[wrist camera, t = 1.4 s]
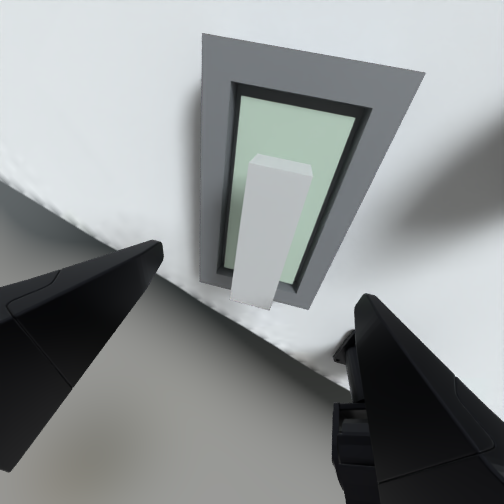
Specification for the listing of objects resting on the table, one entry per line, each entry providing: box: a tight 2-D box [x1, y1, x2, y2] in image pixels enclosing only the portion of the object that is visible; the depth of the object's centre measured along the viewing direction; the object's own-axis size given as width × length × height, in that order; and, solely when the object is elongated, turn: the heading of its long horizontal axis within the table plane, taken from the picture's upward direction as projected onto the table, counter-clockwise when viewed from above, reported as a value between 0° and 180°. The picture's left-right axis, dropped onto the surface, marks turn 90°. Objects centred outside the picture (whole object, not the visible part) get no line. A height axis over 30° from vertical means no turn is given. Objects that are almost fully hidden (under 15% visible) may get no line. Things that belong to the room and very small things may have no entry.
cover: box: [224, 96, 355, 310], centre depth 13 cm, size 12×6×6 cm, turn 171°
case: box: [200, 33, 426, 310], centre depth 15 cm, size 16×10×4 cm, turn 171°
